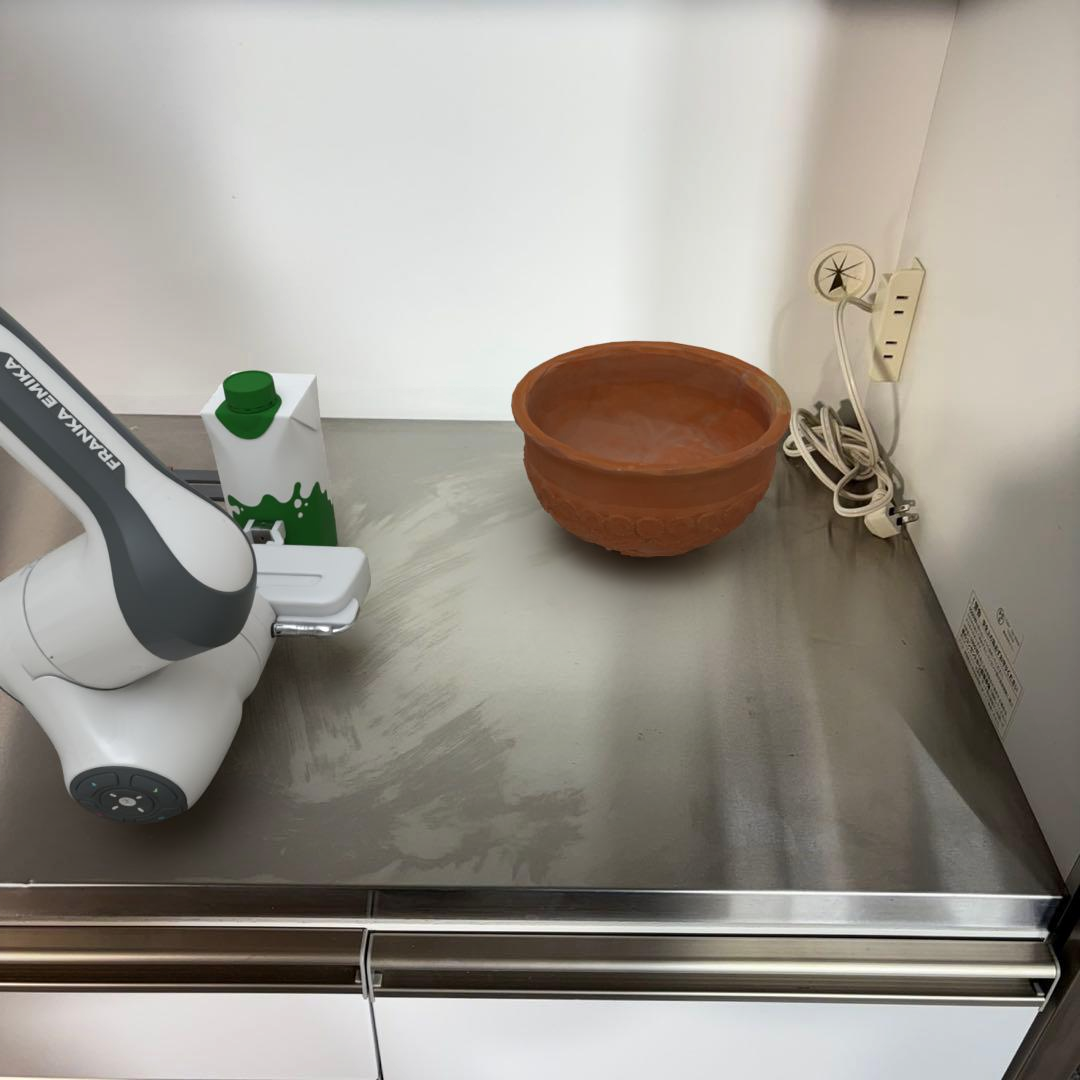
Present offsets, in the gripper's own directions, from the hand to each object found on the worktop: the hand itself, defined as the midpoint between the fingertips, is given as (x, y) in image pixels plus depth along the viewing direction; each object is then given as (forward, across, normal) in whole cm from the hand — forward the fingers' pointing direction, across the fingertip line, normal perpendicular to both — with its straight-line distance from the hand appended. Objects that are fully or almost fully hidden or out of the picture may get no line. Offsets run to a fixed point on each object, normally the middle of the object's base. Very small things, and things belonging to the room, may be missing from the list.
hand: (268, 526), depth 84 cm
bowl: (+12, -33, +8) cm, 36 cm away
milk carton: (+4, 0, +8) cm, 9 cm away
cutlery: (+17, +17, +7) cm, 25 cm away
